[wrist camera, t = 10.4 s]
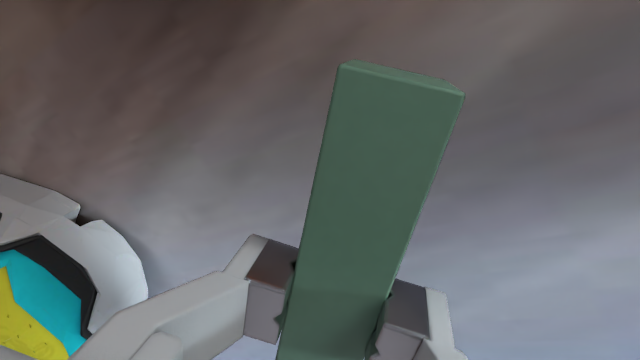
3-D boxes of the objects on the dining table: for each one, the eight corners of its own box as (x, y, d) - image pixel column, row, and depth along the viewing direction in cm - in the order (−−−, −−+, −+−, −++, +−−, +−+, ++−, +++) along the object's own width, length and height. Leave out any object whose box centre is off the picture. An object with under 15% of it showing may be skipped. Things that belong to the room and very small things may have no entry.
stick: (352, 58, 7) (338, 63, 5) (447, 80, 7) (467, 93, 5) (282, 364, 12) (260, 427, 10) (339, 384, 12) (328, 452, 10)
